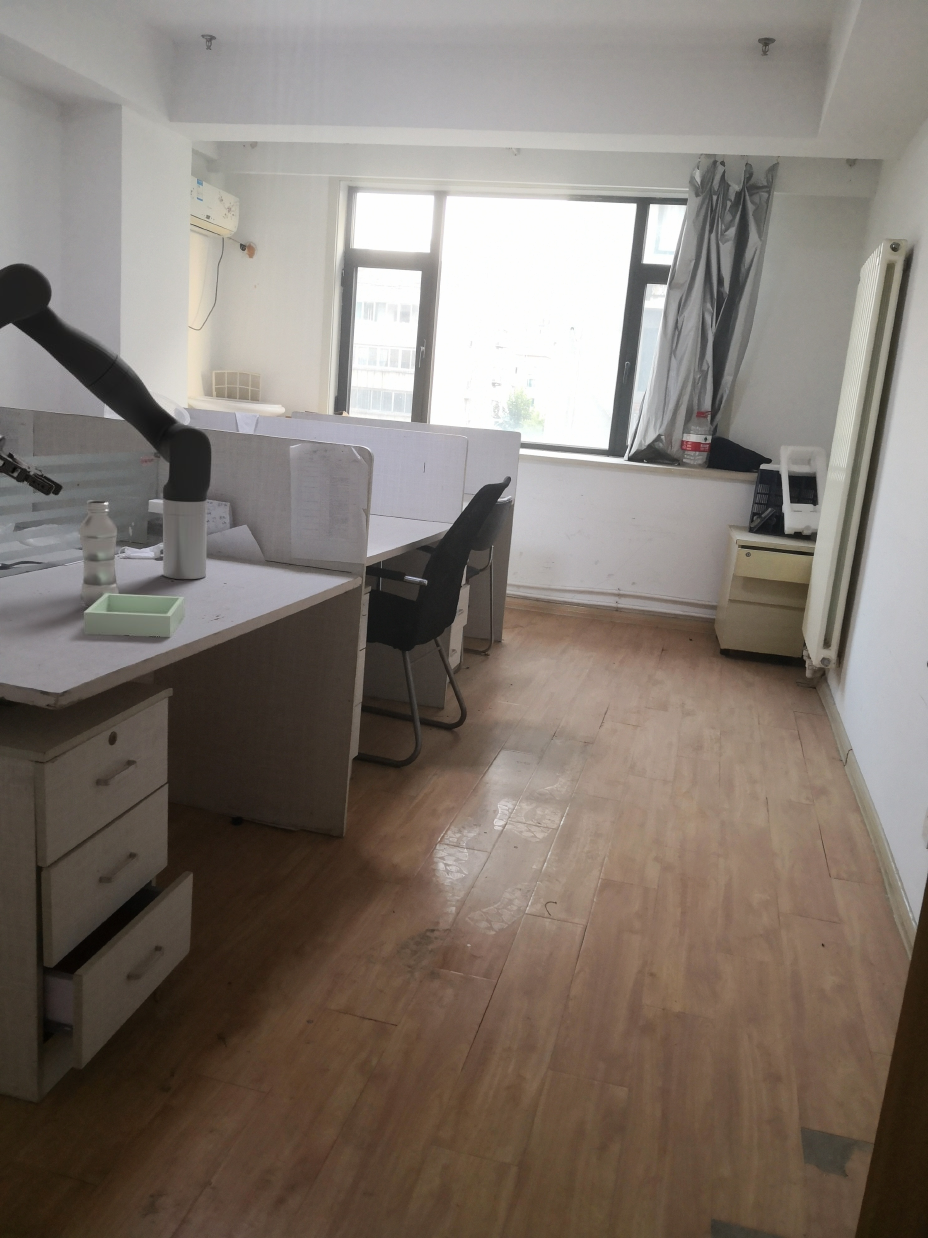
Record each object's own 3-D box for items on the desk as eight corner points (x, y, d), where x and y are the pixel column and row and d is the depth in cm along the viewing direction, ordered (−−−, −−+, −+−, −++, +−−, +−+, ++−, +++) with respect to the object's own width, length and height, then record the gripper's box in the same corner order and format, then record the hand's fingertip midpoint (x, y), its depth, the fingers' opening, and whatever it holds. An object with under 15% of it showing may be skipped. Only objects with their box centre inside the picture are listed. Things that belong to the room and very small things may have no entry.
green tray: (106, 613, 161) (105, 593, 160) (184, 616, 163) (184, 597, 162) (84, 633, 147) (83, 612, 146) (170, 637, 150) (170, 615, 149)
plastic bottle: (126, 608, 166) (125, 503, 161) (95, 613, 160) (92, 505, 155) (105, 601, 169) (103, 498, 164) (73, 607, 163) (70, 500, 158)
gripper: (-31, 418, 146) (60, 473, 151) (-10, 424, 159) (73, 474, 164) (-56, 456, 145) (37, 509, 150) (-32, 459, 159) (52, 508, 164)
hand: (56, 491), depth 157 cm, fingers open, 8 cm apart
